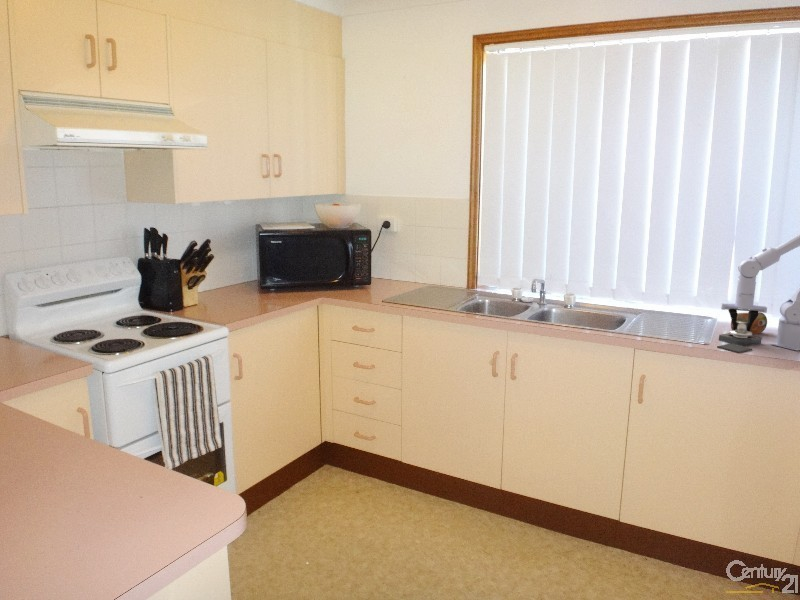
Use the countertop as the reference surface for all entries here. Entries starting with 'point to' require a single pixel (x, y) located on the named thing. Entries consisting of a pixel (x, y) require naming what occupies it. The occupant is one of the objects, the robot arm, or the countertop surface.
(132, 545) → the countertop surface
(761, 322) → the orange patterned rounded block
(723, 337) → the frame
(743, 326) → the door knob
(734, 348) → the mat
